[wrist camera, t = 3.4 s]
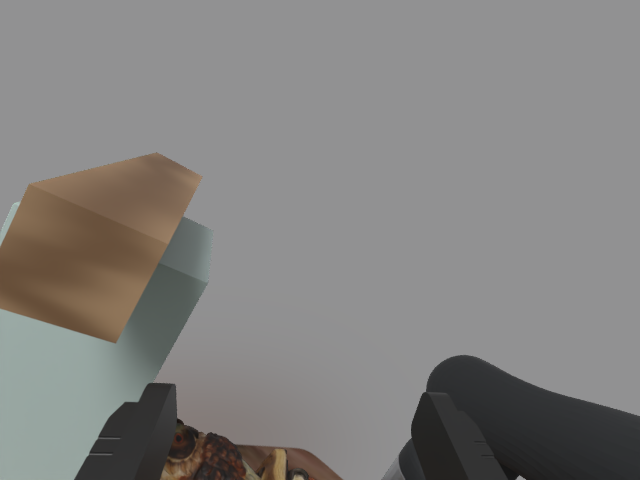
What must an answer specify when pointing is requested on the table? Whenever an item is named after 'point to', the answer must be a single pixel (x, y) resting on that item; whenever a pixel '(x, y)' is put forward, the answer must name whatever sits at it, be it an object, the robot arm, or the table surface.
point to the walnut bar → (92, 243)
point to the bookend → (220, 460)
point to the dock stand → (89, 365)
